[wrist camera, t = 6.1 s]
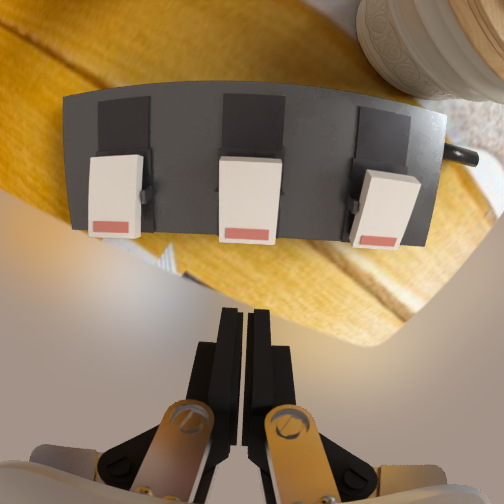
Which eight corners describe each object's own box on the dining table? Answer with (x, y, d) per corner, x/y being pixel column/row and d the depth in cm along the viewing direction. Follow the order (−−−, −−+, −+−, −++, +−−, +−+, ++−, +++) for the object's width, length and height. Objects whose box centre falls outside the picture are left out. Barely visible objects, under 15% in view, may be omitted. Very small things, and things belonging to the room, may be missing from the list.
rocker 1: (144, 157, 21) (137, 154, 20) (141, 236, 22) (134, 238, 21) (98, 159, 21) (90, 157, 20) (96, 234, 22) (87, 237, 21)
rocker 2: (280, 158, 20) (282, 164, 19) (274, 235, 23) (274, 245, 22) (221, 155, 20) (219, 161, 19) (221, 232, 23) (218, 242, 22)
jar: (405, 123, 25) (548, 155, 9) (323, 13, 20) (409, -85, 4) (479, 70, 21) (605, 76, 5) (412, -29, 17) (515, -88, 1)
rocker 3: (413, 175, 20) (421, 185, 19) (392, 239, 24) (397, 250, 22) (365, 168, 20) (372, 177, 19) (348, 236, 24) (352, 248, 22)
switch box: (463, 126, 24) (506, 134, 18) (445, 231, 29) (480, 258, 23) (90, 97, 24) (49, 97, 17) (96, 212, 29) (61, 237, 22)
